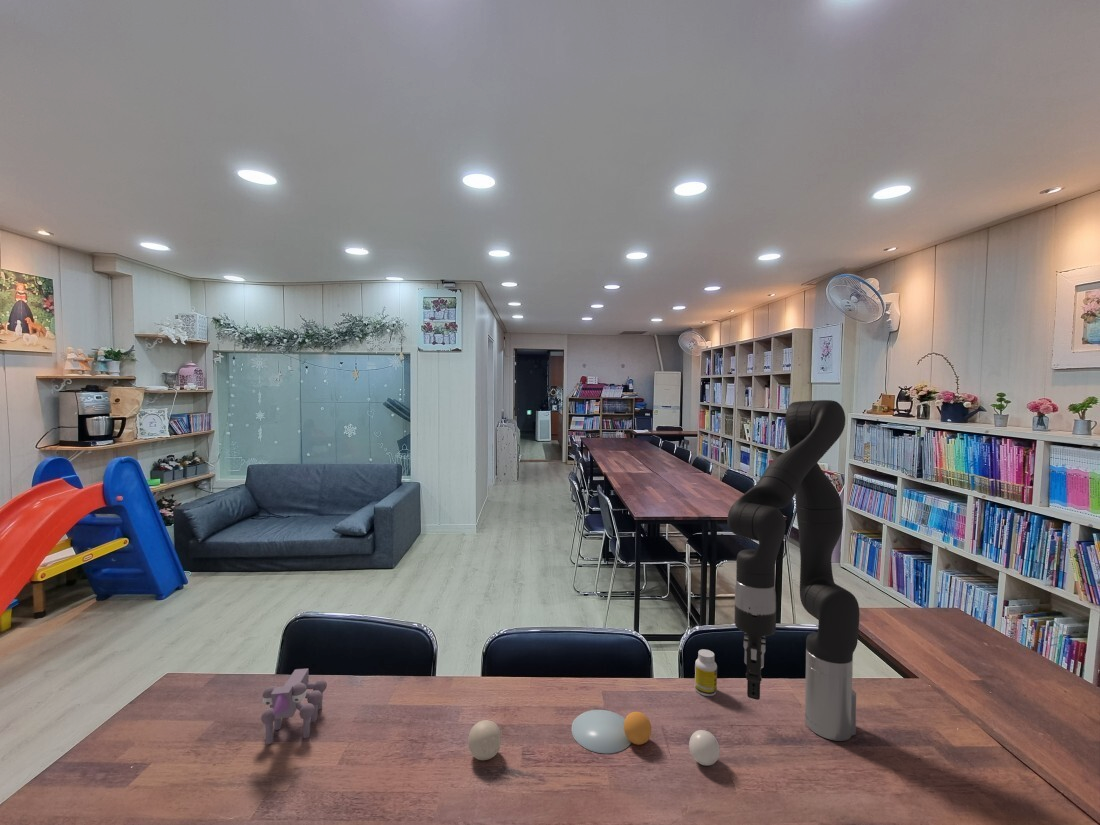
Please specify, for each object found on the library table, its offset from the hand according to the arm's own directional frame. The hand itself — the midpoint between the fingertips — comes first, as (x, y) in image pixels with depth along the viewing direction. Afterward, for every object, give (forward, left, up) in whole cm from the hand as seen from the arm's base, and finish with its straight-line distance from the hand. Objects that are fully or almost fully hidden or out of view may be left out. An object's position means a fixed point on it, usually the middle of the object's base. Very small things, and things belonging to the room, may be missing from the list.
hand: (754, 685), depth 93 cm
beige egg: (+53, -10, -18) cm, 57 cm away
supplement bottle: (-3, -28, -18) cm, 34 cm away
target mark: (+27, -15, -18) cm, 36 cm away
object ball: (+20, -11, -15) cm, 28 cm away
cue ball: (+8, -4, -15) cm, 18 cm away
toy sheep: (+96, -20, -18) cm, 100 cm away
